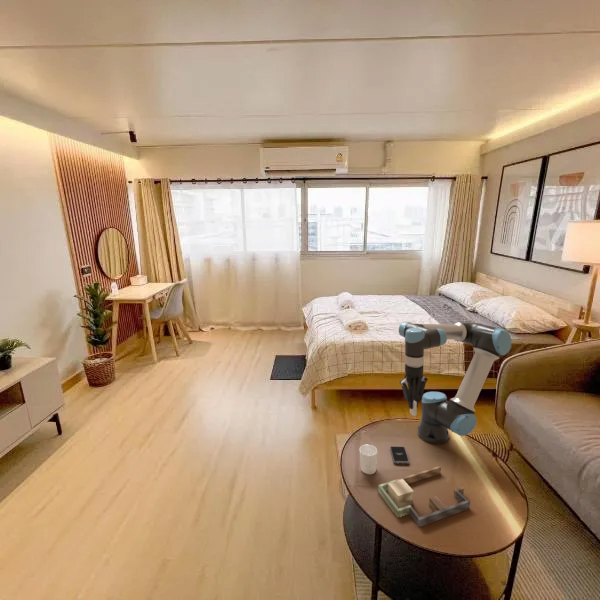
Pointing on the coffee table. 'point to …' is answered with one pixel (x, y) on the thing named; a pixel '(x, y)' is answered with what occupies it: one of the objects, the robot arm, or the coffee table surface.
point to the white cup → (368, 458)
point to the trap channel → (434, 502)
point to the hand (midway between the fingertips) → (413, 414)
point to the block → (400, 493)
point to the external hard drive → (399, 455)
